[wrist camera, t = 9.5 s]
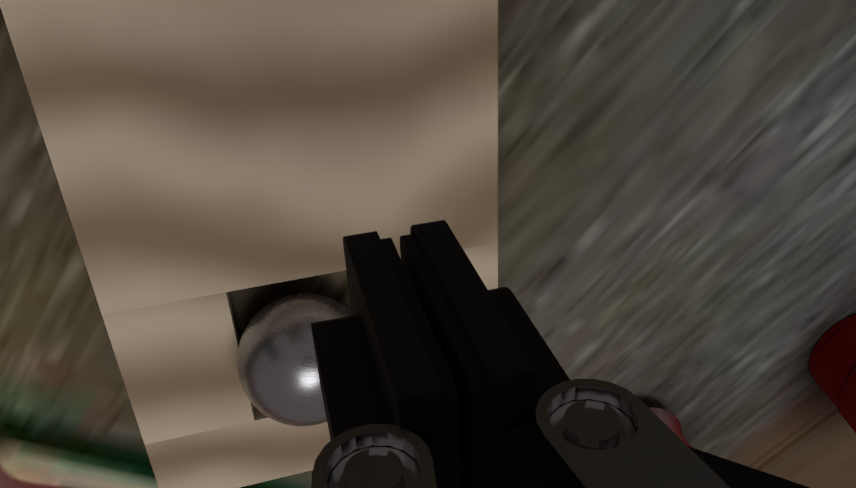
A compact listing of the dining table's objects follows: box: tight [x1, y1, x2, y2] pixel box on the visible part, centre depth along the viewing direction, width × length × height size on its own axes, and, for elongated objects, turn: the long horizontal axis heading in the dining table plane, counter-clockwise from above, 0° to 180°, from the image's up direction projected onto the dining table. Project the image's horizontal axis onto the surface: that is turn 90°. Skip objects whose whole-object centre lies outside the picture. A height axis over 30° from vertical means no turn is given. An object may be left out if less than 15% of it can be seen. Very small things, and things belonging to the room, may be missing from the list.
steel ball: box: [237, 293, 352, 426], centre depth 33 cm, size 6×6×6 cm
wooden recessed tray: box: [0, 0, 498, 488], centre depth 32 cm, size 30×18×2 cm, turn 3°
